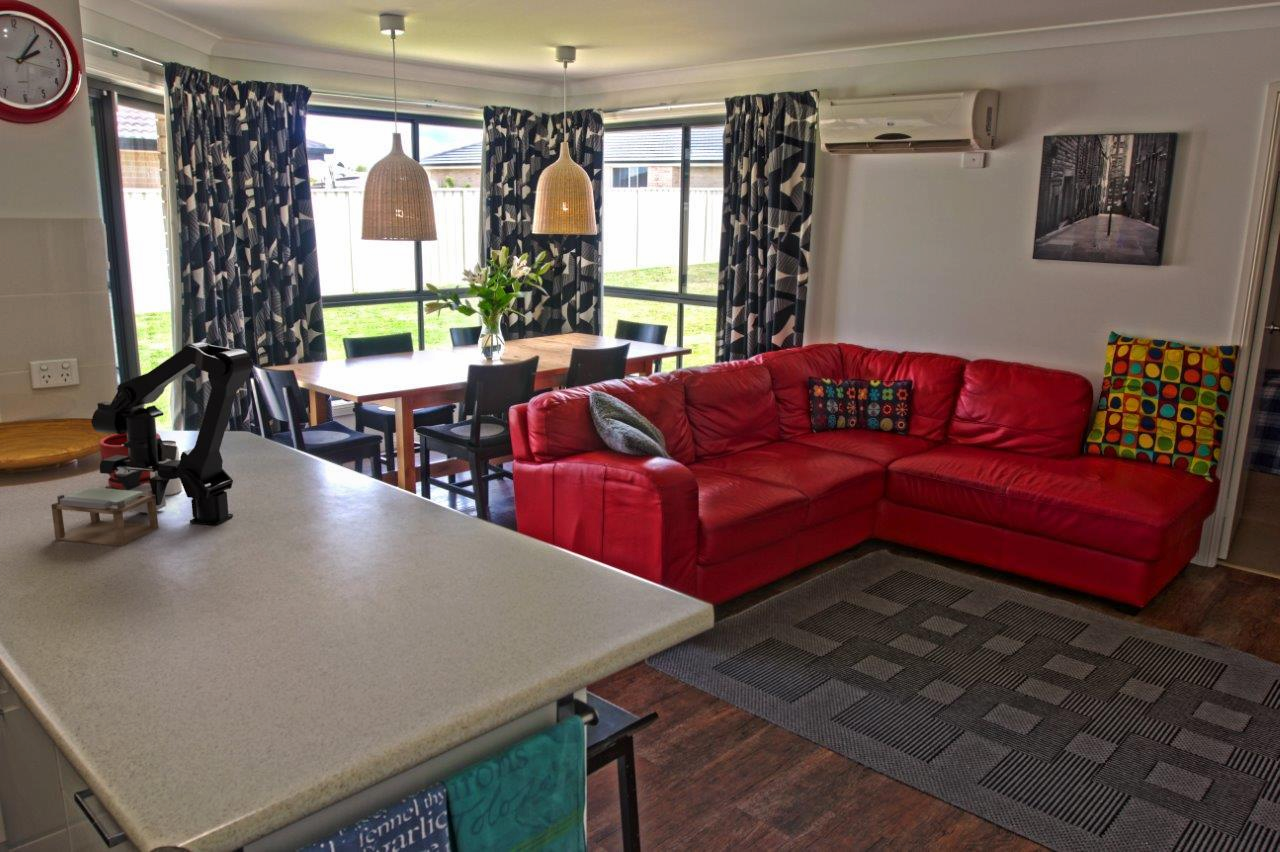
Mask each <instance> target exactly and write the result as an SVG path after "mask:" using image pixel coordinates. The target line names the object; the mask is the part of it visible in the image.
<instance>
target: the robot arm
mask: <svg viewBox="0 0 1280 852" xmlns="http://www.w3.org/2000/svg"><path fill="white" fill-rule="evenodd" d="M195 367H197V368H198V370H199V369H200V370H201V371H203V372H205V373H207V378H208V381H209V384H210V387H211V388H210V391H209V392H210V393H209V394H208V395H209V396H208V398H207V402H206V406H205V410H204V414H203V417H202V419H201V425H200V427H199V430H198V435H197V439H196V442H195V445H194V447H193V448H190V449H187V450H184V451H182V452H181V454H180V456H179V459H180V460H175V459H176V452H177V447H178V445H177V446H170V445H163V444H162V441H163V439H162V437H160V438H157V434H158V433H157V426H156V425H157V424H156V418H158V417H161V416H163V415H164V412H163V411H162V410H160V409H158V407H156V405H154V404H152V403H154V402H156V401H158V398H160V397H161V396H162V395H163V393H164V392H165V388H167V386H168V385H170V384H171V383H173V382H174V381H175V380H177V379H179V378H180V377H182V376H183V375H184V374H186V373H187V372H189V371H190V370H192V369H193V368H195ZM253 368H254V360H253V359H252V356H251V355H250V354H249V352H248V351H246V350H245V349H242V348H235V349H233V348H230V347H226V346H225V347H223V346H219V345H218V346H217V345H212V344H210V343H207V342H204V341H203V342H202V341H198V342H193V343H188V344H186V345H184V346H183V348H182V349H180V350H179V351H178V352H176V353H175V354H173V355H172V356H170V357H168V358H167V359H166V360H164V361H163V362H161V363H160V364H159V365H157V366H156V367H154V368H153V369H151V370H150V371H148V372H147V373H145V374H142V375H138V376H135V377H132V378H131V379H130V378H129V379H127V380H125V381H123V382H121V383H120V384H119V385H117V387H116V390H117V392H116V394H115V396H114V398H113V399H112V401H111V402H110V401H102V402H98V403H97V408H96V409H95V410H94V412H93V415H92V418H91V420H90V421H91V422H90V423H91V426H92V428H93V430H95V431H96V432H98V433H103V434H111V435H114V434H125V433H127V440H128V441H127V442H125V443H124V444H123V445H124V447H126V448H128V450H129V456H121V455H115V456H112V457H109V458H106V459H104V460H102V459H101V461H100V462H99V464H98V468H99V473H100V474H107V475H109V474H112V473H113V472H114V471H115V469H116V475H114V478H117V479H118V480H119V481H120V482H121V484H122V485H123V486H124V487H125V488H126V490H129V491H130V489H133V488H135V487H137V486H140V476H141V474H142V471H151V472H155V477H152V478H150V479H149V482H150V485H151V489H152V493H153V495H155V497H156V505H157V506H159V505H161V503H162V499H163V496H164V493H165V490H166V487H167V484H168V482H169V480H170V479H177V478H179V479H180V480H181V483H182V489H183V490H184V493H185V496H186V497H187V498H188V499H189V498H191V500H190V501H191V509H192V510H191V511H192V519H190V520H189V523H191V524H198V525H199V524H200V525H208V526H216V525H220V524H221V523H223V522H225V521H227V520H229V519H231V518H233V517H234V514H233V513H229V504H228V503H229V502H228V492H227V490H231V489H232V487H233V483H234V480H233V478H232V477H231V476H230V475H229V474H228V473H227V472H226V471H225V469H224V468H223V462H224V461H223V457H222V454H221V451H220V450H221V446H222V442H223V440H224V439H223V438H224V435H225V432H226V428H227V425H228V422H229V418H230V415H231V412H232V408H233V404H234V402H235V397H236V394H237V392H238V391H239V390H240V389H241V387H243V385H245V383H246V382H247V380H248V378H249V377H250V374H251V373H252V371H253ZM149 404H152V405H150V406H147V407H146V408H145V407H141V406H145V405H149ZM133 408H134V409H133ZM132 409H133V410H132ZM156 433H157V434H156ZM166 459H171V461H169V462H166V463H163V464H160V463H159V462H160V461H162V462H163V461H165V460H166ZM206 485H207V486H206Z"/></svg>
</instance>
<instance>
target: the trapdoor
mask: <svg viewBox="0 0 1280 852" xmlns="http://www.w3.org/2000/svg"><path fill="white" fill-rule="evenodd" d="M140 495H143V492H140V491H129V490H125V489H118V488H105V487H94V486H91V487H88V488H86V489H82V490H81V491H78V492H76V493H72V494H70V495H67V496H65V497H63V498H62V499H60V505H63V506H74V507H85V508H95V509H107V508H111V507H113V506H117V507H118V502H119V501H121V500H124V502H125V503H126V502H128V501H131V499H133V498H136V497H138V496H140Z"/></svg>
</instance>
